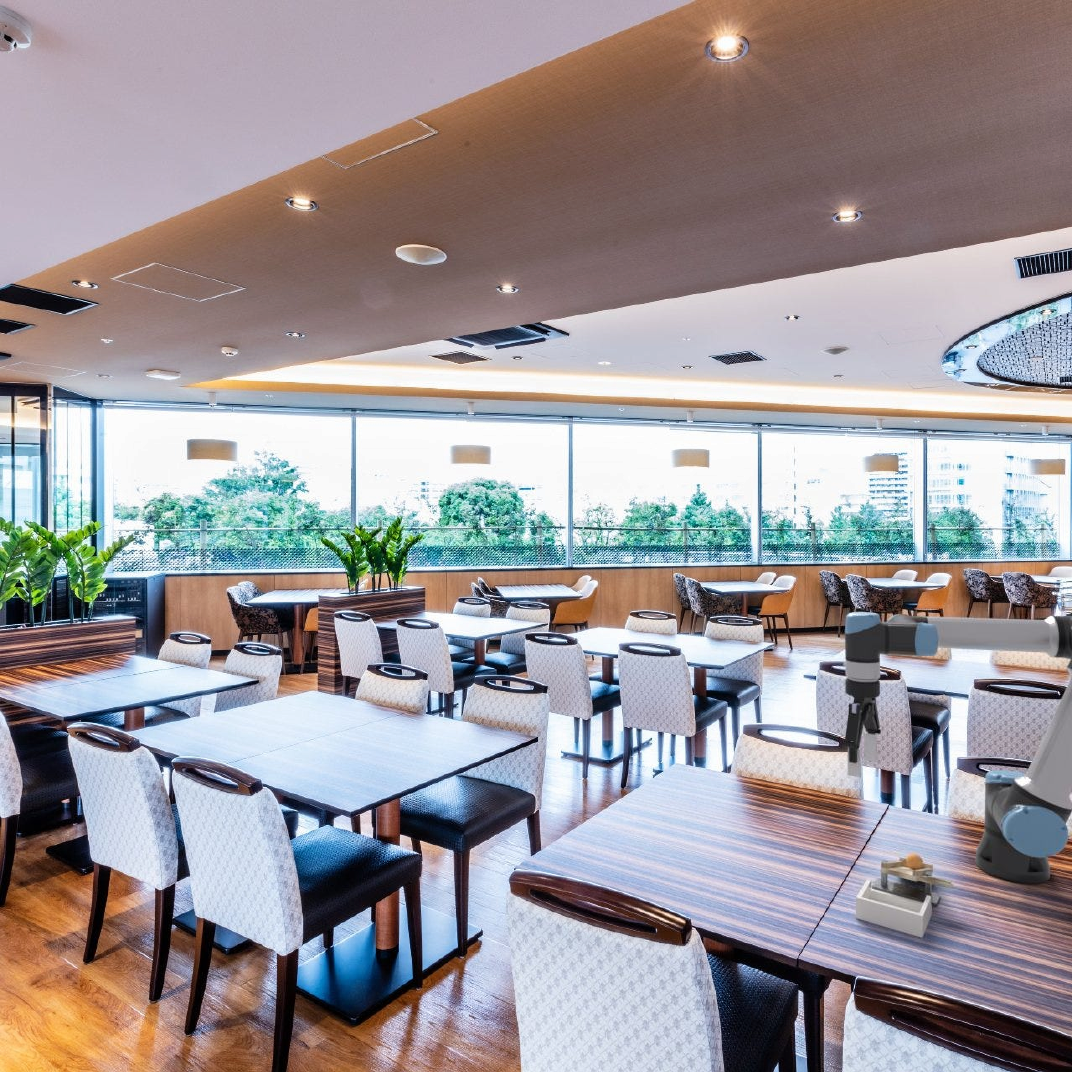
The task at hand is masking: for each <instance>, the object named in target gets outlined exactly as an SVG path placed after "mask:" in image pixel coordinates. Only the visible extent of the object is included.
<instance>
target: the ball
mask: <svg viewBox="0 0 1072 1072" xmlns="http://www.w3.org/2000/svg"><path fill="white" fill-rule="evenodd" d="M905 859H906V863H907V865H908V866H909V867H910V868H911V869H914V870H918V869H920V868H921V867H922V865H923V863H924V861H923V858H922V857H921V856H920V855H918V854H917V853H910V854H908V855H907V856H906V858H905Z"/></svg>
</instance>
